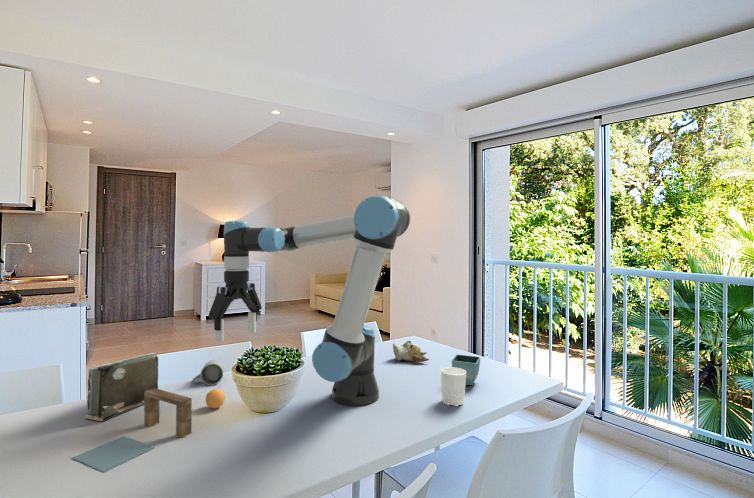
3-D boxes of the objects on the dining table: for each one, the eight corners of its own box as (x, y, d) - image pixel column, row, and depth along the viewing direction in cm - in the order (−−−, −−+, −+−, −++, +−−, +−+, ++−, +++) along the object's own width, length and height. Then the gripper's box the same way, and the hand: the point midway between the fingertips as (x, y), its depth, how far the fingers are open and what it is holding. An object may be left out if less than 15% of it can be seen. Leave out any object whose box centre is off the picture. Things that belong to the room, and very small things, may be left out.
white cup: (468, 400, 136) (468, 369, 136) (462, 409, 129) (463, 376, 128) (444, 396, 139) (444, 365, 139) (437, 404, 132) (437, 372, 132)
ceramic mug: (224, 377, 154) (224, 356, 154) (223, 384, 146) (222, 363, 146) (194, 379, 151) (193, 359, 151) (191, 387, 143) (190, 365, 143)
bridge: (154, 421, 117) (154, 388, 116) (191, 433, 110) (191, 398, 110) (144, 425, 114) (144, 391, 114) (181, 437, 108) (181, 401, 107)
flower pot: (450, 385, 149) (451, 360, 149) (455, 378, 157) (456, 353, 157) (476, 389, 146) (476, 363, 145) (480, 381, 154) (480, 356, 154)
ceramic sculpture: (392, 336, 183) (427, 339, 183) (391, 356, 184) (425, 359, 183) (393, 342, 173) (430, 345, 172) (391, 363, 173) (428, 366, 173)
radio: (151, 391, 139) (151, 345, 139) (171, 395, 136) (171, 348, 135) (78, 418, 118) (78, 365, 117) (99, 424, 114) (99, 369, 114)
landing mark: (154, 447, 102) (154, 447, 102) (103, 472, 92) (103, 471, 92) (123, 436, 108) (123, 435, 108) (71, 458, 97) (71, 457, 97)
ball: (229, 406, 128) (229, 388, 127) (214, 413, 123) (214, 394, 123) (215, 402, 130) (216, 385, 130) (201, 409, 125) (201, 390, 125)
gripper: (255, 267, 148) (255, 327, 149) (195, 271, 126) (195, 343, 126) (272, 267, 145) (272, 329, 145) (213, 273, 122) (213, 346, 123)
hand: (236, 336), depth 136 cm, fingers open, 13 cm apart
